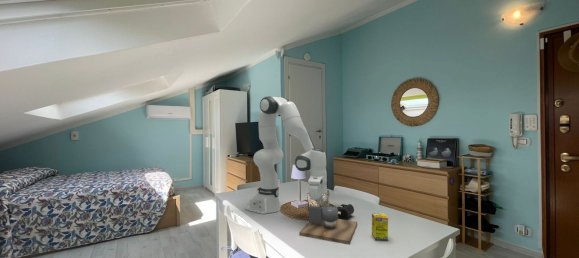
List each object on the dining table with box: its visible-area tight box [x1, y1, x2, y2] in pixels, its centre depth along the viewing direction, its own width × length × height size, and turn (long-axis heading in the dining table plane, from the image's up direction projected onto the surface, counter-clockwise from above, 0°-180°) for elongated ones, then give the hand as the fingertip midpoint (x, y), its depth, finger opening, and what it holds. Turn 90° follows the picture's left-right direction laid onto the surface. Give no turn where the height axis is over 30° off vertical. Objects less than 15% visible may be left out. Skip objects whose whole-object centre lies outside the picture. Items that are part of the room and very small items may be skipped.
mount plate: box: [298, 219, 358, 245], centre depth 126 cm, size 24×24×6 cm
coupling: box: [308, 205, 339, 224], centre depth 127 cm, size 15×8×8 cm, turn 66°
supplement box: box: [371, 212, 389, 242], centre depth 116 cm, size 6×6×11 cm
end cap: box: [336, 203, 355, 220], centre depth 143 cm, size 10×7×7 cm
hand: (319, 203), depth 135 cm, fingers closed
